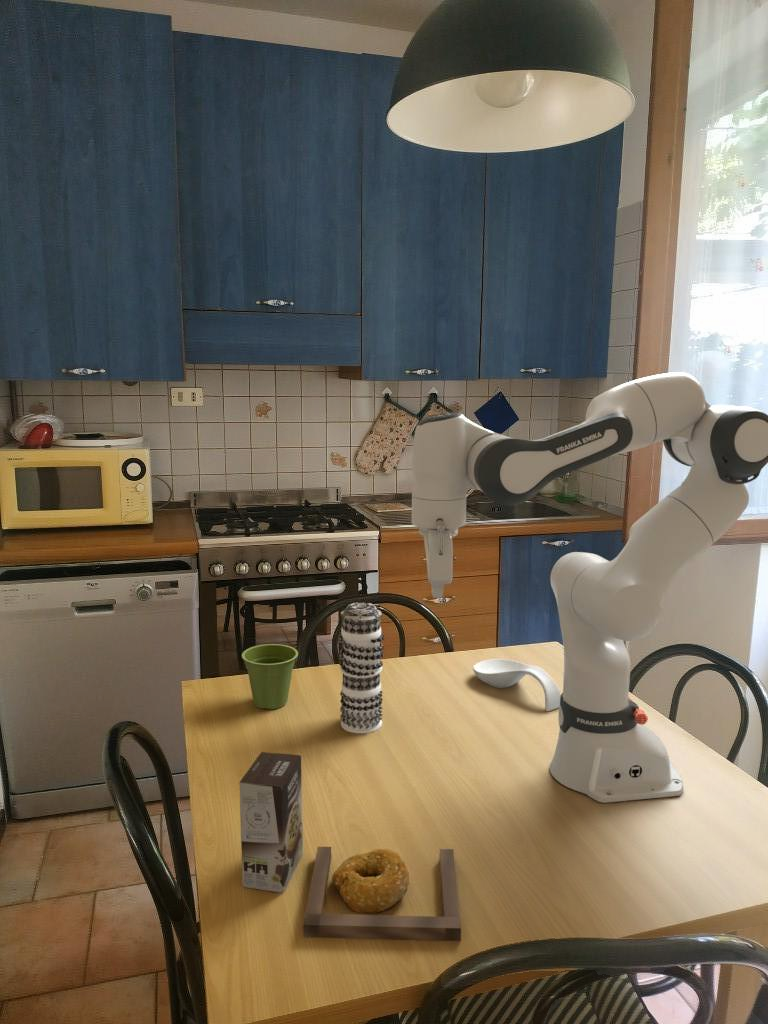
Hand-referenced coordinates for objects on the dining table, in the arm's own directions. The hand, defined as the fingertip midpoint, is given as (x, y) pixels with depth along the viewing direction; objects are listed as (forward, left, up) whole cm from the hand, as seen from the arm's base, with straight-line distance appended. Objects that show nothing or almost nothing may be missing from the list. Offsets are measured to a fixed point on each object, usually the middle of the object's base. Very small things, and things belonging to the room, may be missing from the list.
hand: (437, 595), depth 127 cm
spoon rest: (-20, -39, -35) cm, 56 cm away
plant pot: (+34, -31, -34) cm, 57 cm away
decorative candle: (+14, -22, -34) cm, 43 cm away
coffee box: (+24, +24, -34) cm, 48 cm away
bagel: (+10, +28, -35) cm, 45 cm away
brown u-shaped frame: (+8, +29, -34) cm, 45 cm away
